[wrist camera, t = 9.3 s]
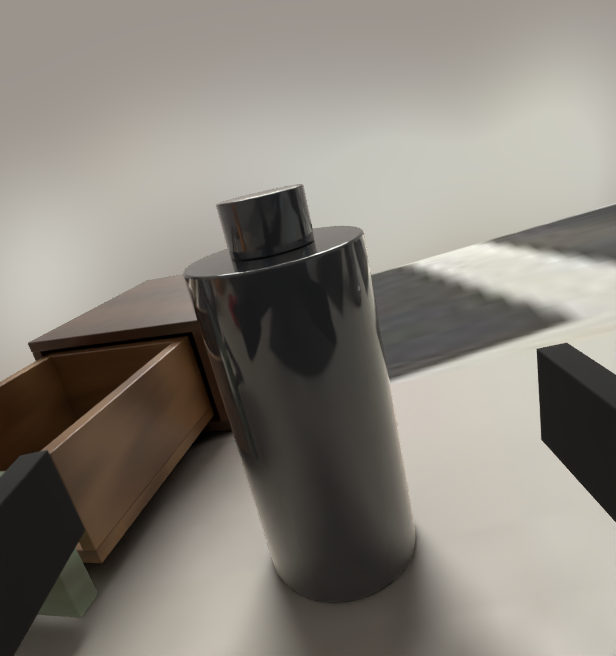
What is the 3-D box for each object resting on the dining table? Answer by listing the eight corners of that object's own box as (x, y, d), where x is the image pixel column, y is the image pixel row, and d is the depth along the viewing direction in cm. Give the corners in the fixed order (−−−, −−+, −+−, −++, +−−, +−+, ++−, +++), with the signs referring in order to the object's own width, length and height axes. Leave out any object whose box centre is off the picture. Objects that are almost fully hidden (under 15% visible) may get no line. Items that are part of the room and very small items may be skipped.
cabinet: (233, 430, 33) (199, 319, 31) (70, 439, 38) (27, 343, 35) (292, 338, 48) (273, 258, 46) (171, 352, 53) (146, 280, 50)
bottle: (417, 487, 24) (364, 167, 19) (414, 608, 18) (334, 183, 13) (293, 489, 26) (213, 200, 21) (252, 598, 20) (124, 227, 15)
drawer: (-8, 744, 16) (-111, 597, 13) (-249, 698, 19) (-360, 578, 17) (224, 417, 34) (197, 331, 31) (75, 427, 37) (41, 351, 35)
